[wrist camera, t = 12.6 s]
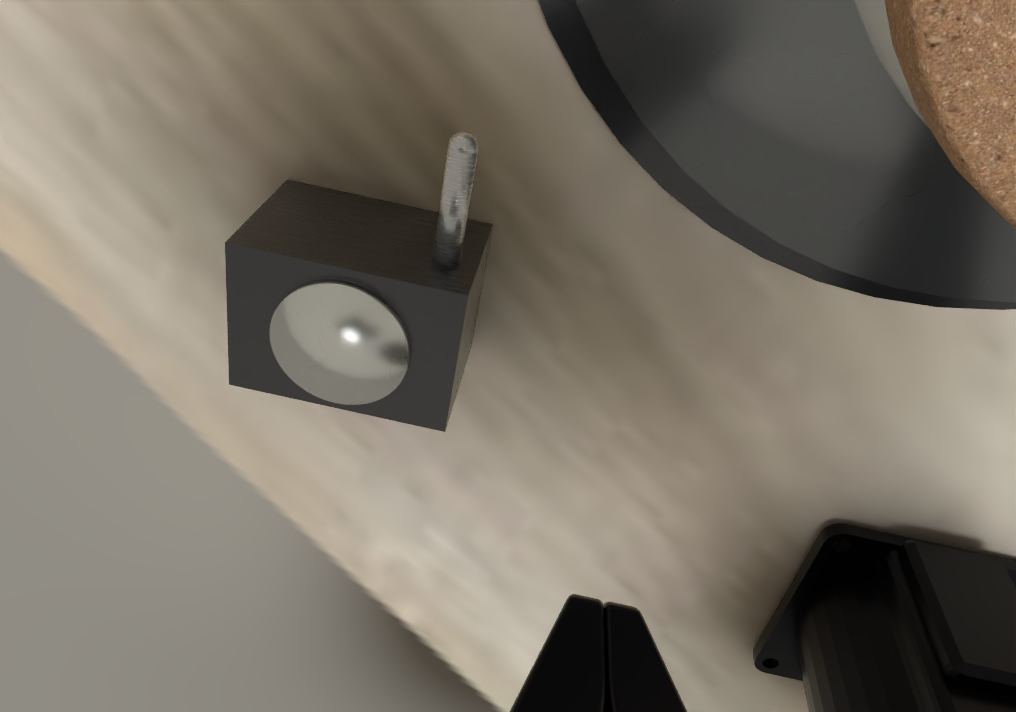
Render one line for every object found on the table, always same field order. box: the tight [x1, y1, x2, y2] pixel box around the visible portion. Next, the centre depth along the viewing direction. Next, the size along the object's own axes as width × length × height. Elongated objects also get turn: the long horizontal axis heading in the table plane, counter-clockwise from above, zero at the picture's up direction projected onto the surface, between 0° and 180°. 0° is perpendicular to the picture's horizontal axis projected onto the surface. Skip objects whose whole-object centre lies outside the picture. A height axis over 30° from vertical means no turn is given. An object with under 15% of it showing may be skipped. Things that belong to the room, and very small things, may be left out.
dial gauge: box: [225, 132, 493, 432], centre depth 17 cm, size 6×5×4 cm
